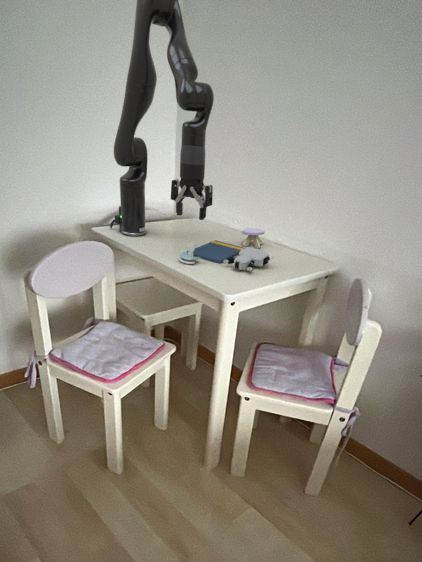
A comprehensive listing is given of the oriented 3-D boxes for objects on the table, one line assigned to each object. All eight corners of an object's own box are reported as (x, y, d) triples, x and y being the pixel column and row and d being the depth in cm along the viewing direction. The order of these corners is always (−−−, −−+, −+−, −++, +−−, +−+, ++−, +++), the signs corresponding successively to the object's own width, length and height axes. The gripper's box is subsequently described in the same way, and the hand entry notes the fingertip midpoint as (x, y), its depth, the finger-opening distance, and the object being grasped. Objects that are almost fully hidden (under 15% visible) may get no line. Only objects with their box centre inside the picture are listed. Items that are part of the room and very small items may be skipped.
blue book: (186, 254, 151) (186, 251, 151) (215, 242, 166) (215, 239, 165) (220, 263, 146) (220, 260, 145) (246, 250, 160) (247, 247, 160)
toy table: (245, 249, 162) (247, 233, 159) (235, 242, 169) (237, 227, 166) (268, 248, 165) (270, 233, 162) (257, 241, 172) (259, 226, 169)
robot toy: (250, 279, 138) (274, 265, 147) (252, 266, 135) (276, 253, 145) (220, 269, 144) (245, 256, 153) (220, 256, 141) (246, 244, 150)
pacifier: (190, 267, 141) (202, 262, 145) (191, 248, 138) (203, 244, 142) (174, 261, 145) (186, 257, 149) (174, 242, 141) (186, 239, 145)
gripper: (219, 163, 129) (215, 219, 137) (180, 158, 134) (179, 211, 143) (206, 165, 123) (203, 223, 132) (166, 159, 129) (165, 215, 138)
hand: (190, 217), depth 138 cm, fingers open, 8 cm apart
